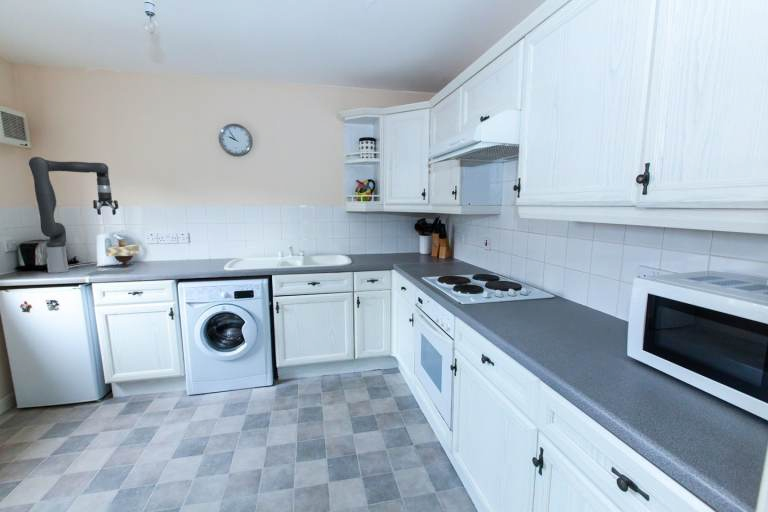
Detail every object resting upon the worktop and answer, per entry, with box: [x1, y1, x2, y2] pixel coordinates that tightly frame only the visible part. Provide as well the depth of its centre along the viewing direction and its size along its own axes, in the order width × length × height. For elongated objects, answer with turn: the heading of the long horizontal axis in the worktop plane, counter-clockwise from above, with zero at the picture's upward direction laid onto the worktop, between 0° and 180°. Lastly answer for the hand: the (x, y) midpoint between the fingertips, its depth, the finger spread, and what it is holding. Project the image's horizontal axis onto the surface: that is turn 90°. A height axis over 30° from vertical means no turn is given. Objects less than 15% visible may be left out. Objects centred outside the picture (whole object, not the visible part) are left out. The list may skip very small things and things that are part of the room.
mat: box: [85, 268, 137, 276], centre depth 233 cm, size 24×15×1 cm, turn 107°
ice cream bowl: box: [114, 255, 134, 269], centre depth 250 cm, size 11×11×15 cm
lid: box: [105, 238, 140, 257], centre depth 249 cm, size 15×15×11 cm
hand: (106, 214), depth 248 cm, fingers open, 8 cm apart
